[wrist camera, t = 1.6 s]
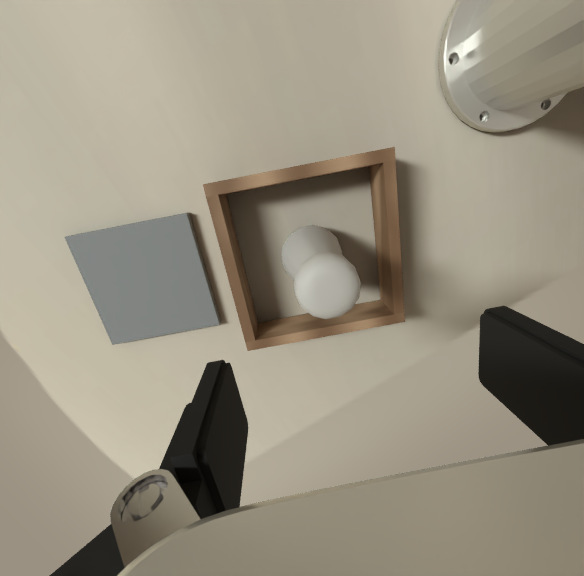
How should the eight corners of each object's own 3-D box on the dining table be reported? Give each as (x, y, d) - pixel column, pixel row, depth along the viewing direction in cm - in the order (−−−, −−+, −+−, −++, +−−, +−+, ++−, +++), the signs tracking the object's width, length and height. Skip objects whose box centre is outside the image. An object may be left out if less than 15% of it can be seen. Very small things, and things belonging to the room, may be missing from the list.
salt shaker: (344, 264, 30) (388, 314, 18) (294, 285, 31) (305, 348, 19) (324, 213, 29) (358, 229, 16) (272, 236, 29) (267, 269, 17)
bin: (378, 153, 27) (394, 147, 23) (390, 306, 32) (404, 321, 29) (213, 185, 27) (202, 184, 24) (251, 332, 33) (247, 350, 29)
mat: (188, 212, 28) (186, 213, 27) (220, 321, 32) (219, 324, 31) (70, 235, 28) (64, 236, 27) (116, 341, 32) (112, 344, 31)
